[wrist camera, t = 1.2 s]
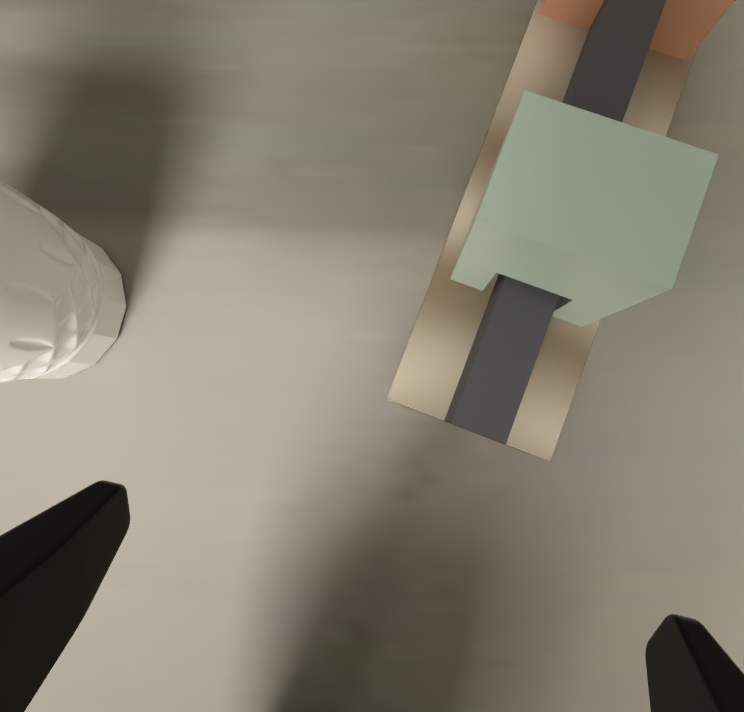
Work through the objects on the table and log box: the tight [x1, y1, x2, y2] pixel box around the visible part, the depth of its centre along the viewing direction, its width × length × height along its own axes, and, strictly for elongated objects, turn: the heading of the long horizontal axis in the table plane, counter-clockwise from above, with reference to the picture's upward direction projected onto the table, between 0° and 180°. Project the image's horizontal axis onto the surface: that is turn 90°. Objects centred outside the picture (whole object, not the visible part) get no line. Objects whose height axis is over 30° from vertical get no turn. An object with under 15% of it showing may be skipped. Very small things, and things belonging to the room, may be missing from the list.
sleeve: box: [450, 90, 719, 327], centre depth 19 cm, size 4×6×7 cm
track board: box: [387, 0, 698, 461], centre depth 23 cm, size 21×7×2 cm, turn 159°
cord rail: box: [444, 0, 666, 444], centre depth 21 cm, size 20×2×3 cm, turn 159°
